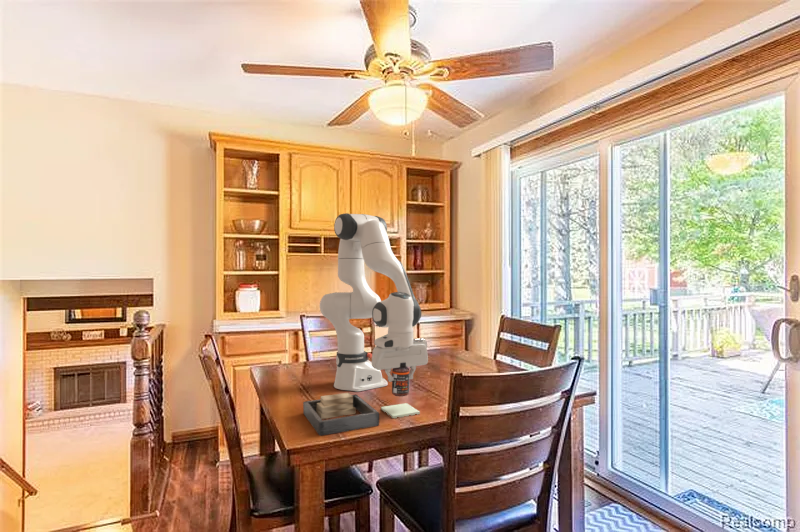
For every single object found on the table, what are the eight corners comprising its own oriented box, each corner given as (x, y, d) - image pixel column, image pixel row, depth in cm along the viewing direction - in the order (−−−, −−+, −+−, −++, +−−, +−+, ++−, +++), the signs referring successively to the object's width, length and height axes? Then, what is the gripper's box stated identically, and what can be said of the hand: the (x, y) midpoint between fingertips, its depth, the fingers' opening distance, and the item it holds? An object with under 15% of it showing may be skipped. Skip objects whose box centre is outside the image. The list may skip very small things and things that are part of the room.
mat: (406, 405, 154) (406, 403, 154) (419, 414, 145) (419, 411, 145) (381, 409, 149) (381, 407, 149) (393, 418, 140) (393, 416, 140)
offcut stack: (349, 408, 150) (349, 391, 150) (355, 414, 145) (355, 396, 145) (315, 414, 145) (315, 396, 145) (321, 420, 139) (321, 401, 139)
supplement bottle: (395, 397, 143) (396, 364, 143) (389, 393, 148) (389, 360, 148) (412, 395, 145) (412, 362, 145) (404, 391, 151) (405, 359, 151)
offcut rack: (356, 405, 153) (356, 394, 153) (379, 425, 134) (379, 412, 134) (303, 413, 145) (303, 401, 145) (319, 435, 126) (319, 422, 126)
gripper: (422, 336, 154) (422, 374, 154) (369, 340, 145) (369, 381, 145) (431, 339, 149) (431, 378, 148) (377, 343, 140) (377, 385, 140)
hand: (400, 380), depth 147 cm, fingers closed on supplement bottle, 6 cm apart
